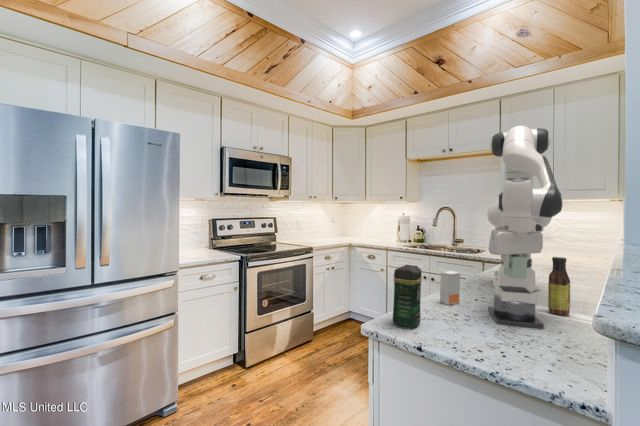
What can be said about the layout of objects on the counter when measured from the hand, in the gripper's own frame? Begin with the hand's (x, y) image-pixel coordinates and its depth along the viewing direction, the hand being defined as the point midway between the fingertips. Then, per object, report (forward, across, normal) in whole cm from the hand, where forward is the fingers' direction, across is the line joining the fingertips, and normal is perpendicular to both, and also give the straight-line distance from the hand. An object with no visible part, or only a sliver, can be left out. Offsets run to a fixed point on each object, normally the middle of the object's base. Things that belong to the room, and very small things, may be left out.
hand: (515, 267), depth 108 cm
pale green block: (+3, 0, 0) cm, 3 cm away
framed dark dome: (+17, 0, 0) cm, 17 cm away
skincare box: (+18, -8, +21) cm, 29 cm away
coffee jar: (+18, -37, +7) cm, 41 cm away
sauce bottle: (+18, +21, 0) cm, 27 cm away
